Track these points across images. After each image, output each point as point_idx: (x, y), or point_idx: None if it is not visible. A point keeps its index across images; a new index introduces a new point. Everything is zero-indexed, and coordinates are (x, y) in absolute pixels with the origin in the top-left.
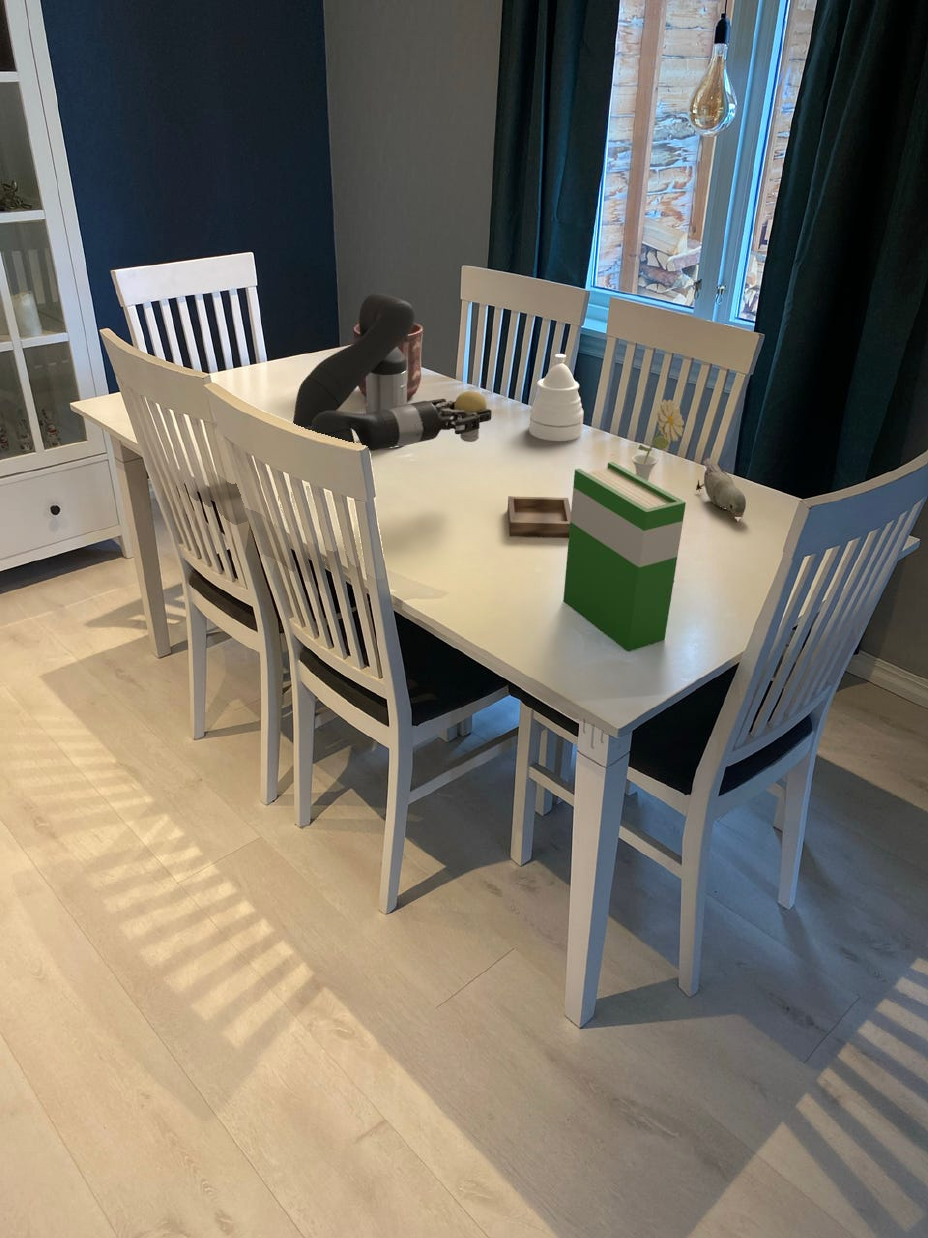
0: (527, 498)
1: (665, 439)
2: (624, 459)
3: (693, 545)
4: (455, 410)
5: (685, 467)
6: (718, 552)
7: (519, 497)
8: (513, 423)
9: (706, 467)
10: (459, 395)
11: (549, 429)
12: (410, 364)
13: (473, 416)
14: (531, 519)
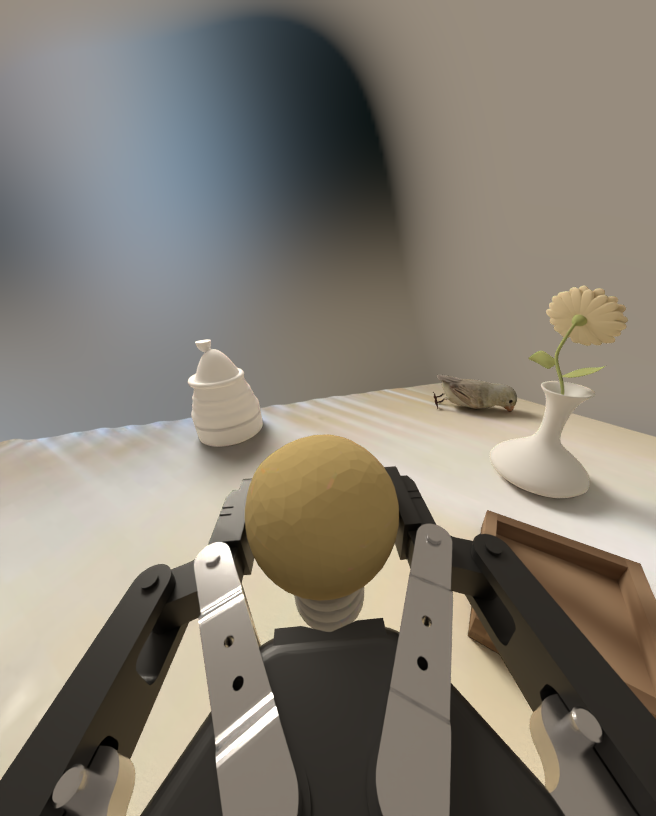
0: None
1: (537, 354)
2: (337, 416)
3: (594, 456)
4: (416, 646)
5: (377, 396)
6: (610, 447)
7: None
8: (172, 446)
9: (448, 381)
10: (276, 506)
11: (241, 429)
12: None
13: (500, 569)
14: None
